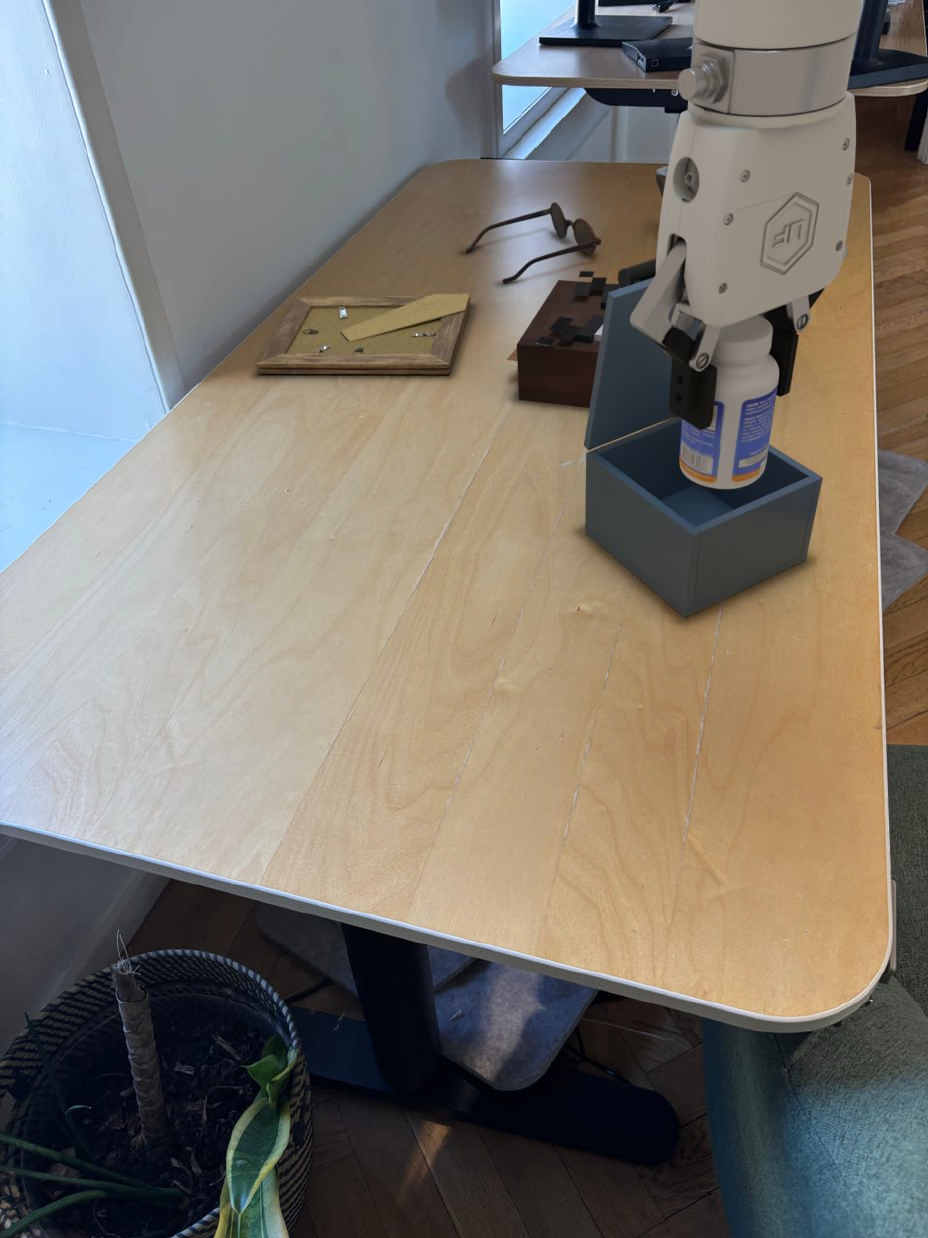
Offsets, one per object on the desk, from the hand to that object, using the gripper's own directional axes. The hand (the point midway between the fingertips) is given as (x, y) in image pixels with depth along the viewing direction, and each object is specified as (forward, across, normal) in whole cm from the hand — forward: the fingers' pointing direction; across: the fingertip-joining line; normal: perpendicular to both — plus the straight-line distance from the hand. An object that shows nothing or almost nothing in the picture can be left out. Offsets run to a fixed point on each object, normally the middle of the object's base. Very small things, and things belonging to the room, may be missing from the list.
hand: (729, 400), depth 60 cm
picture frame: (+26, +7, +70) cm, 75 cm away
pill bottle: (+5, 0, 0) cm, 5 cm away
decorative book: (+26, +28, +41) cm, 56 cm away
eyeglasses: (+26, +37, +78) cm, 90 cm away
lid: (+9, +12, +19) cm, 24 cm away
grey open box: (+25, +12, +14) cm, 31 cm away
